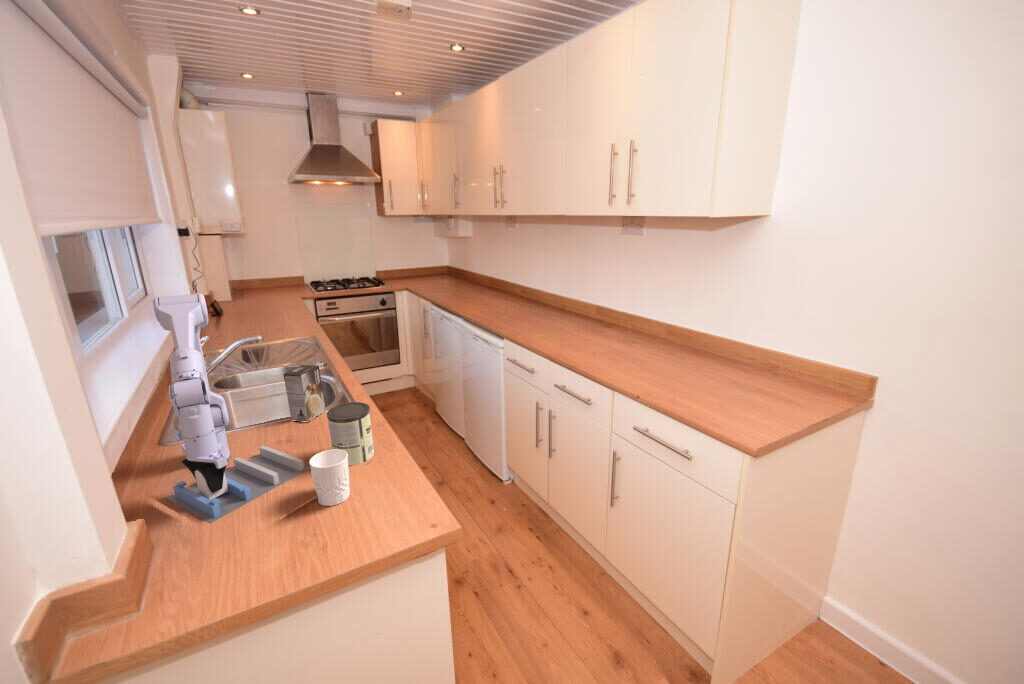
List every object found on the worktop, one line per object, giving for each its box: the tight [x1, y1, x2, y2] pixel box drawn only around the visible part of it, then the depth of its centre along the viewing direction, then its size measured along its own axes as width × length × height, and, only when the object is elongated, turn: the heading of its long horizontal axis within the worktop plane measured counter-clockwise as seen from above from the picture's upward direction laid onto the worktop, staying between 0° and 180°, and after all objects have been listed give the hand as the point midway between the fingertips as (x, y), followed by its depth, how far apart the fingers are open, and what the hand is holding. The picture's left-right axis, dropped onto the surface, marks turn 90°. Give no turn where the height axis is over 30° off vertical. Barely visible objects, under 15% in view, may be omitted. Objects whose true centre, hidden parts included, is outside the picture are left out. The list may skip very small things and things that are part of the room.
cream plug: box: [195, 470, 228, 500], centre depth 99 cm, size 4×4×6 cm
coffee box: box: [283, 364, 327, 421], centre depth 141 cm, size 9×6×16 cm
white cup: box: [308, 449, 351, 507], centre depth 99 cm, size 8×8×10 cm
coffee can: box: [326, 401, 375, 467], centre depth 115 cm, size 10×10×14 cm
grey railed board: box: [166, 445, 311, 524], centre depth 105 cm, size 18×24×4 cm
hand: (211, 487), depth 99 cm, fingers closed on cream plug, 4 cm apart
